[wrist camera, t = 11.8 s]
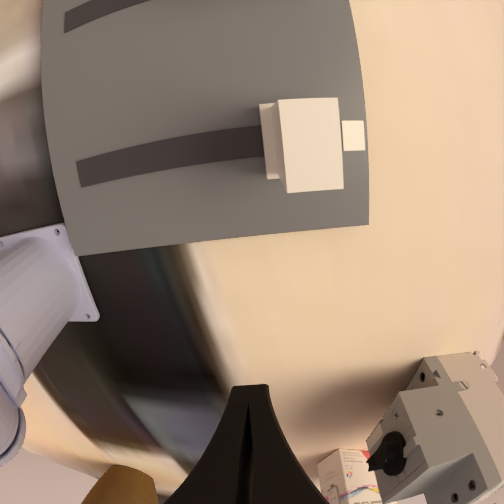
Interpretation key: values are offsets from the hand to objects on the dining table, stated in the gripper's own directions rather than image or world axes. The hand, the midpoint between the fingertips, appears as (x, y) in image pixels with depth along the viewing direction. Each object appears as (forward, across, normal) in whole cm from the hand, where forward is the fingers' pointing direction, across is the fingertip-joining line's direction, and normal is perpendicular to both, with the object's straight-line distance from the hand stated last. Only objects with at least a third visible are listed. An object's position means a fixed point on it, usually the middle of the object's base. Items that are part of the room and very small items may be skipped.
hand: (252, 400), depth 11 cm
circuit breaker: (+10, -15, +14) cm, 23 cm away
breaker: (+7, -3, -9) cm, 12 cm away
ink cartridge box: (+10, -10, +29) cm, 32 cm away
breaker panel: (+9, +2, -14) cm, 17 cm away
